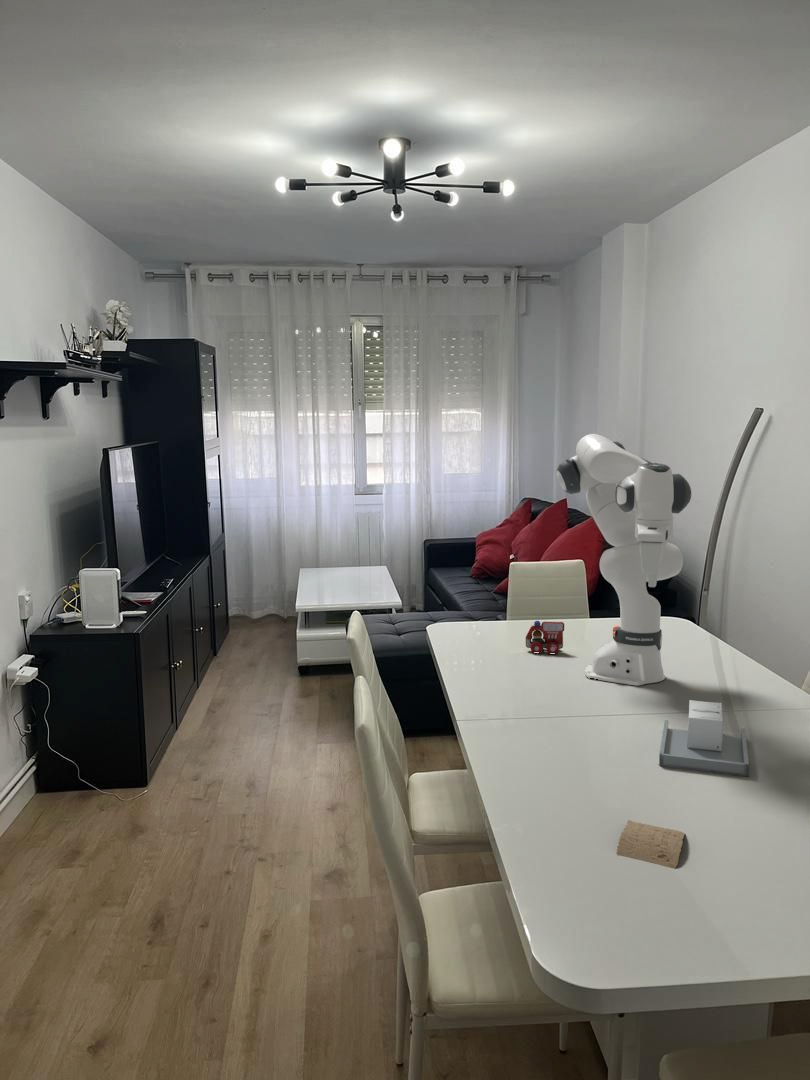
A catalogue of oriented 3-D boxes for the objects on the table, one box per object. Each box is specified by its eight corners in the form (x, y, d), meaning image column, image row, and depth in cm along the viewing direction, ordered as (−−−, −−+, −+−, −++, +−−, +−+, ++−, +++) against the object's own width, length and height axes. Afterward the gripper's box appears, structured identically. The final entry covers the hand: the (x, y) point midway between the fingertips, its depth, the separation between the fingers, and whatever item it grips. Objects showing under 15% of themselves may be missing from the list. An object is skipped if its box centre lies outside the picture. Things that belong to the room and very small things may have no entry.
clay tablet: (630, 823, 147) (630, 809, 146) (687, 834, 142) (688, 820, 142) (614, 861, 134) (614, 846, 134) (677, 875, 130) (677, 859, 129)
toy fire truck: (526, 648, 264) (527, 617, 263) (564, 650, 261) (565, 619, 260) (524, 653, 257) (524, 622, 256) (563, 655, 254) (563, 624, 253)
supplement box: (722, 702, 186) (724, 721, 174) (720, 732, 187) (722, 753, 175) (688, 698, 188) (688, 717, 177) (687, 728, 189) (686, 748, 178)
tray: (659, 765, 170) (659, 754, 170) (664, 730, 190) (664, 720, 190) (748, 776, 164) (749, 765, 164) (744, 738, 184) (744, 728, 184)
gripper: (643, 525, 205) (642, 578, 206) (636, 535, 186) (635, 593, 187) (669, 525, 202) (668, 579, 204) (665, 535, 183) (663, 594, 185)
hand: (652, 586), depth 196 cm, fingers closed
